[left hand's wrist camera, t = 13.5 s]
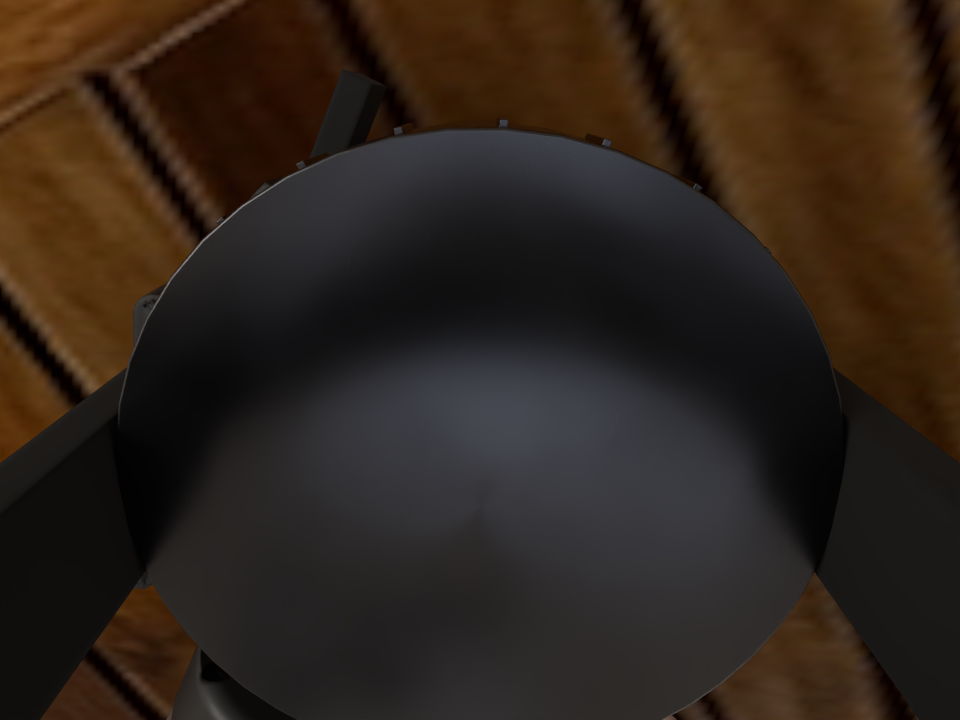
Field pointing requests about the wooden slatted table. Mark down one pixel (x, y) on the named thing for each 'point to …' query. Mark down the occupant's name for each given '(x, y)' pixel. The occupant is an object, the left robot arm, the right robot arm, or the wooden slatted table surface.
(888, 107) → the wooden slatted table surface
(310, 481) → the lid
